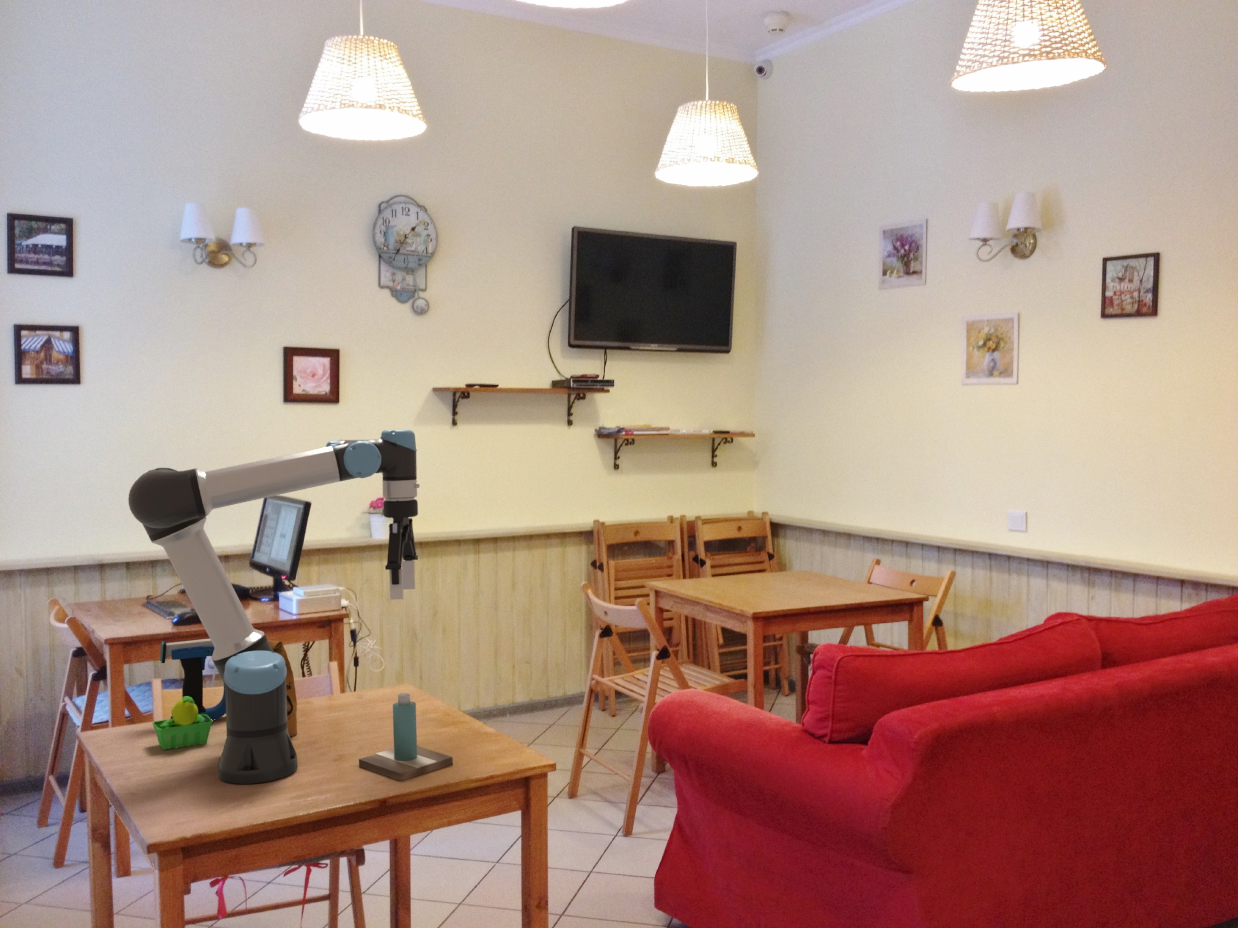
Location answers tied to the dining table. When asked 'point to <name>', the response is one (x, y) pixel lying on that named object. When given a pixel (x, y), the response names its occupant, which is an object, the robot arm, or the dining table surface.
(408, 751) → the teal bottle with cap
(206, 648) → the handheld scanner
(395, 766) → the brown cream striped panel
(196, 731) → the fruit basket
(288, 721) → the coffee package
